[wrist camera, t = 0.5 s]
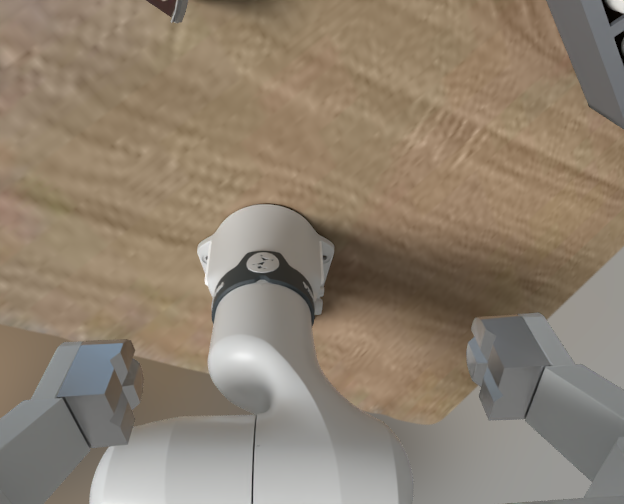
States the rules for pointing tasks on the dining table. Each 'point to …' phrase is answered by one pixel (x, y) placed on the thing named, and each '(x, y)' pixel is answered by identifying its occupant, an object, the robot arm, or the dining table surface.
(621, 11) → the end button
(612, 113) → the button console
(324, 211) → the dining table surface
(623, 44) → the middle button
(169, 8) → the food container
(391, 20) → the dining table surface
